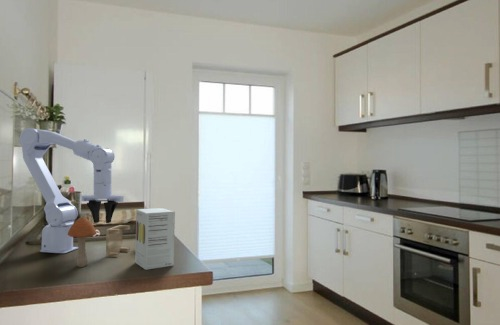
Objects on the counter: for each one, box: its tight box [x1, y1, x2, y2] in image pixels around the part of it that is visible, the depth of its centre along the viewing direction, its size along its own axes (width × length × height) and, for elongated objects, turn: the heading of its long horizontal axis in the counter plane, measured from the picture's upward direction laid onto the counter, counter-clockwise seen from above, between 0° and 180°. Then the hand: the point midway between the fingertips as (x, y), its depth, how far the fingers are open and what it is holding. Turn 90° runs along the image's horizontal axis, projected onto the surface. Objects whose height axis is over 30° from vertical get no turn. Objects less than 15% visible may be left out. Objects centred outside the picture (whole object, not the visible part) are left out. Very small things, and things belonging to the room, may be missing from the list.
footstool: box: [105, 224, 131, 258], centre depth 130 cm, size 4×9×9 cm, turn 171°
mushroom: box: [68, 216, 97, 268], centre depth 113 cm, size 8×8×15 cm
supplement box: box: [134, 207, 176, 271], centre depth 117 cm, size 10×9×17 cm
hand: (102, 222), depth 130 cm, fingers open, 4 cm apart
